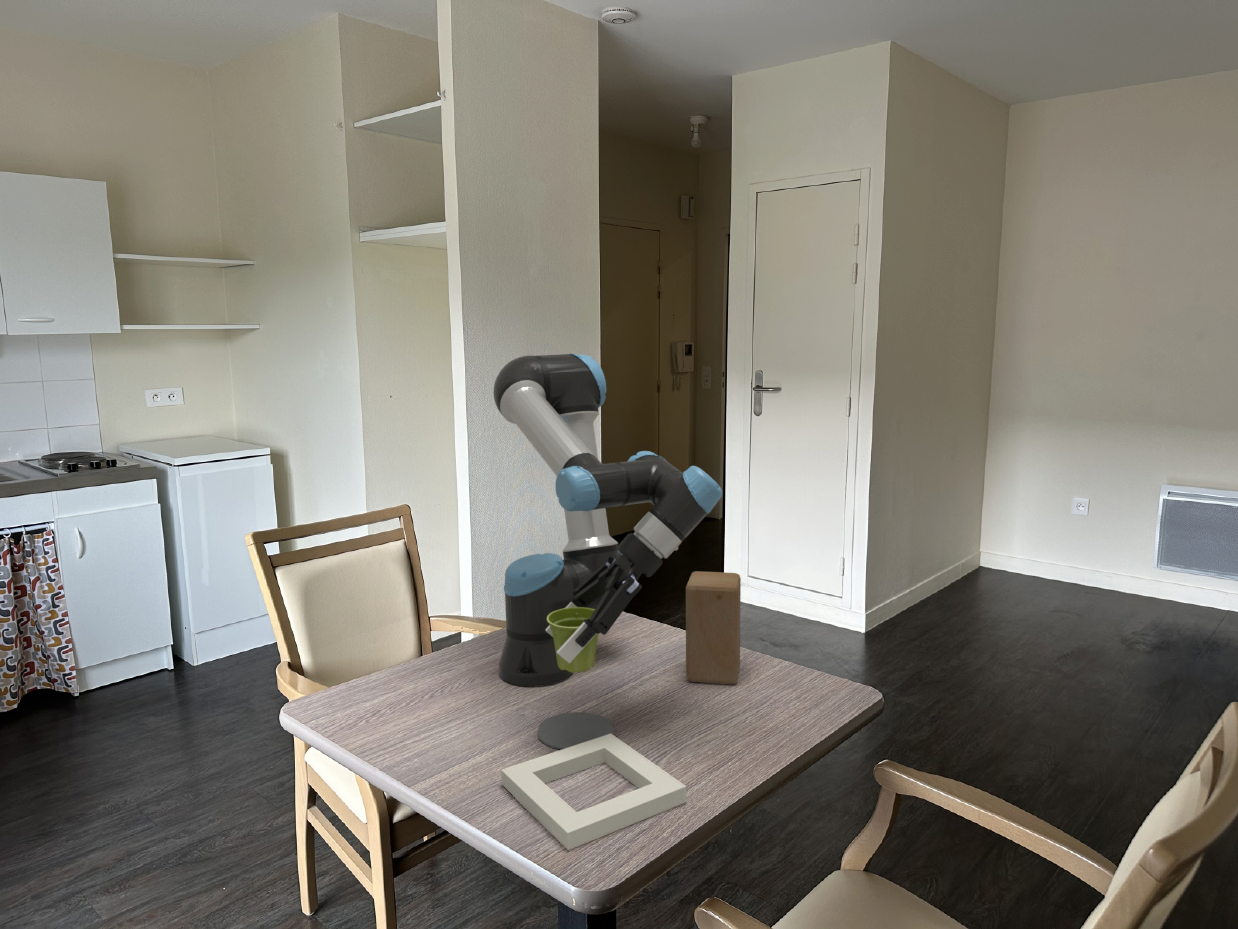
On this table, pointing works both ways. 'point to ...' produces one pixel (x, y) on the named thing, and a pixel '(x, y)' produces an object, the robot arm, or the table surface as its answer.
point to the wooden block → (713, 627)
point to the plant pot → (564, 627)
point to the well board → (602, 818)
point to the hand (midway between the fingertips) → (556, 646)
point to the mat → (573, 729)
